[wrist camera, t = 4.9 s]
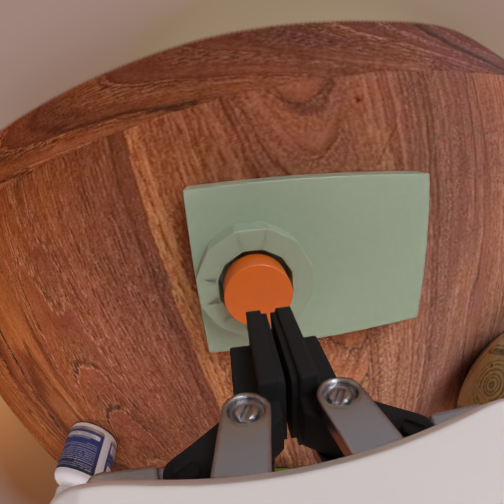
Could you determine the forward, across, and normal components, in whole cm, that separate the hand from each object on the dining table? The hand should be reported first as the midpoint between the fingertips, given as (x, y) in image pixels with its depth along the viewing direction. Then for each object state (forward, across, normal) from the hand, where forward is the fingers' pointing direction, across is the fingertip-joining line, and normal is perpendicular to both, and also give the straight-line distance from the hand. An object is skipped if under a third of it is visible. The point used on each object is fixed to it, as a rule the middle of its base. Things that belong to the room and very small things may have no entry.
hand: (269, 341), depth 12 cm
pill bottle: (+10, +18, +19) cm, 28 cm away
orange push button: (+6, 0, 0) cm, 6 cm away
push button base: (+10, -5, 0) cm, 11 cm away
